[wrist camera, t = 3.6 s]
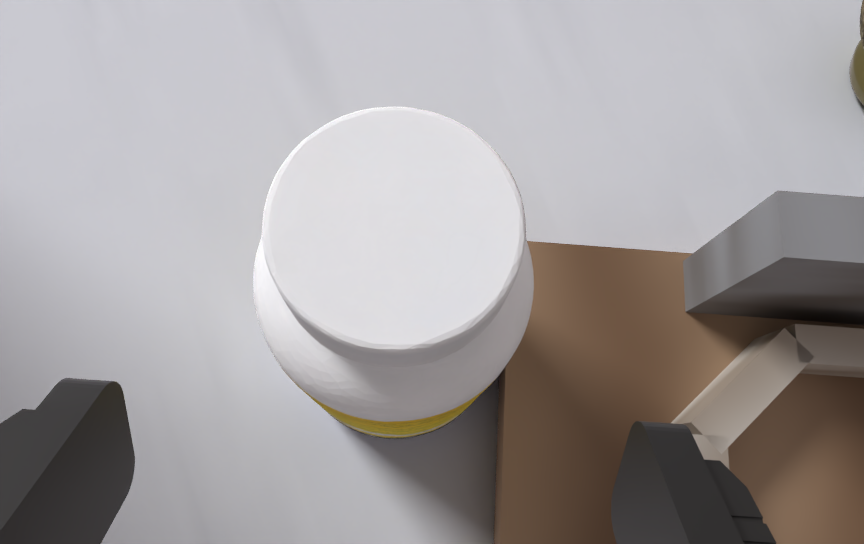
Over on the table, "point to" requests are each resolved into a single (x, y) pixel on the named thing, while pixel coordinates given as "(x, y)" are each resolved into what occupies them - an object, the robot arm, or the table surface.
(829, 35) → the table surface
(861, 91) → the cup
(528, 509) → the socket board
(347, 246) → the supplement bottle
